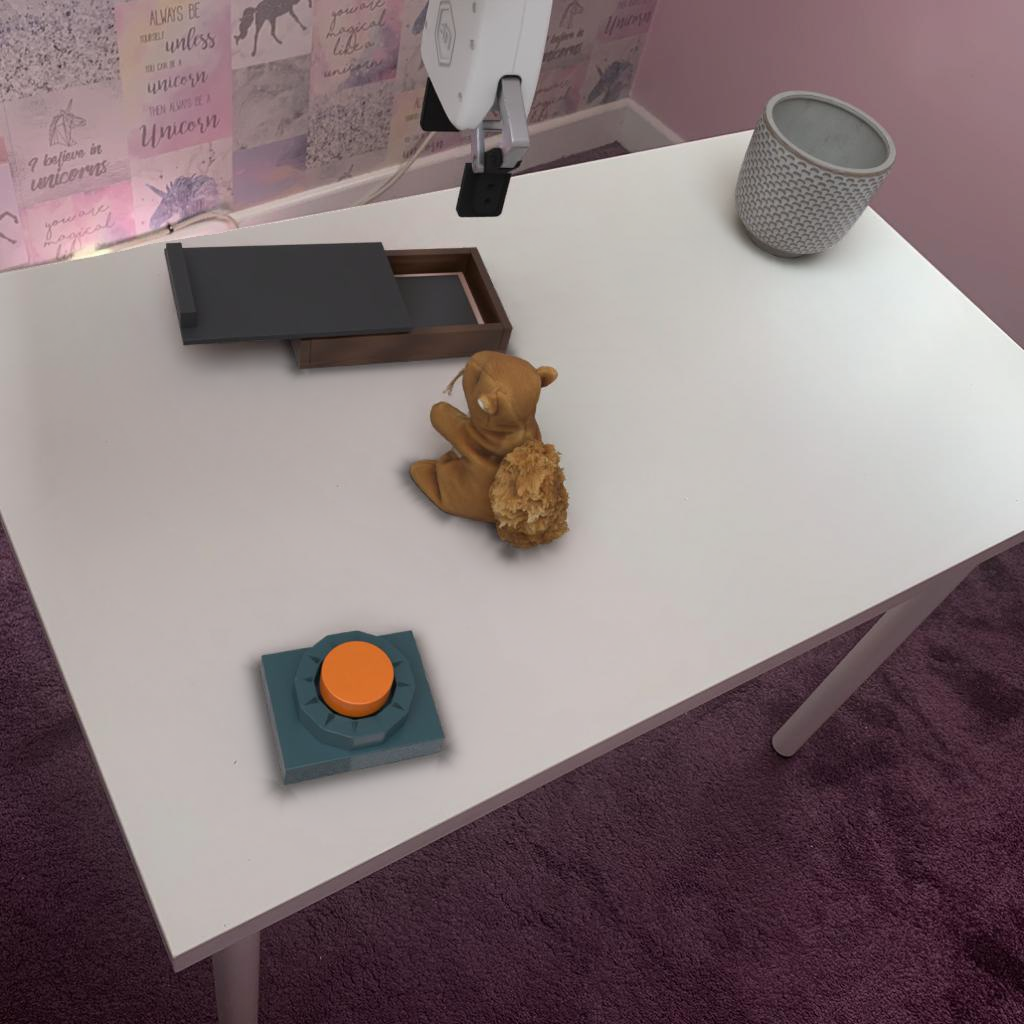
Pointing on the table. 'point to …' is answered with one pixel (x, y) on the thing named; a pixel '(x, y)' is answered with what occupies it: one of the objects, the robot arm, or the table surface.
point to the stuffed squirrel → (498, 453)
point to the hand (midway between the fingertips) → (458, 170)
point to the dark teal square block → (342, 739)
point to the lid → (284, 292)
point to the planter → (810, 172)
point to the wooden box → (425, 314)
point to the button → (356, 679)
